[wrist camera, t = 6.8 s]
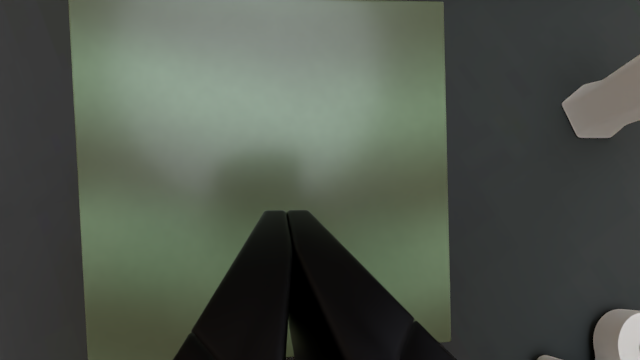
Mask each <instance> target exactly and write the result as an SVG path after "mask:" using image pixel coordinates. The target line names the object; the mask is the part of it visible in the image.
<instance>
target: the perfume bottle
mask: <svg viewBox="0 0 640 360" xmlns="http://www.w3.org/2000/svg"><path fill="white" fill-rule="evenodd" d="M562 107H563V109H564V111H565V113H566V115H567V117H568V119H569V121H570V123H571V125H572V127H573V129H574V131H575V133H576V135H577V136H578V137H579V138H611V137H612V136H613V135H614V134H616V133H617V132H618V131H619V130H620V129H622V128H623V127H624V126H625V125H627V124H630V123H633V122H636V121H639V120H640V55H639V56H637V57H636V58H634V59H633V60H631V61H630V62H628V63H627V64H625V65H624V66H622V67H621V68H619V69H618V70H616V71H615V72H613V73H612V74H611V75H609V76H608V77H606V78H605V79H603V80H600V81H596V82H592V83H588V84H584V85H582V86H581V87H580V88H579V89H578V90H576V91H575V92H574V93H573V94H572V95H571V96H569V97H568V98H567V99H566V100H565V101H563V103H562Z"/></svg>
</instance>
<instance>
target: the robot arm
mask: <svg viewBox="0 0 640 360" xmlns="http://www.w3.org/2000/svg"><path fill="white" fill-rule="evenodd" d="M288 321H289V329H290V335H291V341H292V346H293V352H294V357H295V360H457V359H456V358H455V357H454V356H452V355H451V354H450V353H449V352H448V351H447V350H446V349H445V348H444V347H443V346H442V345H441V344H440V343H439V342H438V341H437V340H436V339H435V338H434V337H433V336H432V335H431V334H430V333H429V332H428V331H427V330H426V329H425V328H424V327H423V326H422V325H421V324H420V323H419V322H418V321H414V317H413V316H412V315H411V314H410V313H409V312H408V311H407V310H406V309H405V308H404V307H403V306H402V305H401V304H400V303H399V302H398V301H397V300H396V299H395V298H394V297H393V296H392V295H391V294H390V293H389V292H388V291H387V290H386V289H385V288H384V287H383V286H382V285H381V284H380V283H379V282H378V281H377V280H376V278H375V277H374V276H373V275H372V274H371V273H370V272H369V271H368V270H367V269H366V268H365V267H364V266H363V265H362V264H361V263H360V262H359V261H358V260H357V259H356V258H355V257H354V256H353V255H352V254H351V253H350V252H349V251H348V250H347V249H346V248H345V247H344V246H343V245H342V244H341V243H340V242H339V241H338V240H337V239H336V238H335V237H334V236H333V235H332V234H331V233H330V232H329V231H328V230H327V229H326V228H325V227H324V226H323V225H322V224H321V223H320V222H319V221H318V219H317V218H316V217H315V216H314V215H313V214H312V213H311V212H310V211H308V210H289V211H288V212H287V213H286V211H284V210H266V211H264V213H263V214H262V216H261V217H260V219H259V221H258V222H257V224H256V226H255V227H254V229H253V230H252V232H251V234H250V235H249V237H248V239H247V240H246V242H245V244H244V245H243V247H242V248H241V250H240V252H239V253H238V255H237V257H236V258H235V260H234V261H233V263H232V265H231V266H230V268H229V270H228V271H227V273H226V275H225V276H224V278H223V279H222V281H221V283H220V284H219V286H218V288H217V289H216V291H215V293H214V294H213V296H212V297H211V299H210V301H209V302H208V304H207V306H206V307H205V309H204V310H203V312H202V314H201V315H200V317H199V319H198V320H197V322H196V324H195V325H194V327H193V328H192V331H191V333H190V334H189V335H188V336H187V338H186V339H185V341H184V343H183V344H182V346H181V348H180V349H179V351H178V353H177V354H176V356H175V357H174V359H173V360H286V347H287V333H288Z"/></svg>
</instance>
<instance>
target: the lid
mask: <svg viewBox="0 0 640 360" xmlns="http://www.w3.org/2000/svg"><path fill="white" fill-rule="evenodd" d="M68 3H69V21H70V40H71V58H72V76H73V95H74V113H75V132H76V150H77V169H78V187H79V205H80V224H81V242H82V261H83V279H84V298H85V316H86V334H87V353H88V360H173V359H174V357H175V356H176V354H177V353H178V351H179V349H180V348H181V346H182V344H183V343H184V341H185V339H186V338H187V336H188V335H189V334H190V333H191V331H192V328H193V327H194V325H195V324H196V322H197V320H198V319H199V317H200V315H201V314H202V312H203V310H204V309H205V307H206V306H207V304H208V302H209V301H210V299H211V297H212V296H213V294H214V293H215V291H216V289H217V288H218V286H219V284H220V283H221V281H222V279H223V278H224V276H225V275H226V273H227V271H228V270H229V268H230V266H231V265H232V263H233V261H234V260H235V258H236V257H237V255H238V253H239V252H240V250H241V248H242V247H243V245H244V244H245V242H246V240H247V239H248V237H249V235H250V234H251V232H252V230H253V229H254V227H255V226H256V224H257V222H258V221H259V219H260V217H261V216H262V214H263V213H264V211H266V210H284V211H286V213H287V212H288V211H289V210H308V211H310V212H311V213H312V214H313V215H314V216H315V217H316V218H317V219H318V221H319V222H320V223H321V224H322V225H323V226H324V227H325V228H326V229H327V230H328V231H329V232H330V233H331V234H332V235H333V236H334V237H335V238H336V239H337V240H338V241H339V242H340V243H341V244H342V245H343V246H344V247H345V248H346V249H347V250H348V251H349V252H350V253H351V254H352V255H353V256H354V257H355V258H356V259H357V260H358V261H359V262H360V263H361V264H362V265H363V266H364V267H365V268H366V269H367V270H368V271H369V272H370V273H371V274H372V275H373V276H374V277H375V278H376V280H377V281H378V282H379V283H380V284H381V285H382V286H383V287H384V288H385V289H386V290H387V291H388V292H389V293H390V294H391V295H392V296H393V297H394V298H395V299H396V300H397V301H398V302H399V303H400V304H401V305H402V306H403V307H404V308H405V309H406V310H407V311H408V312H409V313H410V314H411V315H412V316H413V317H414V321H418V322H419V323H420V324H421V325H422V326H423V327H424V328H425V329H426V330H427V331H428V332H429V333H430V334H431V335H432V336H433V337H434V338H435V339H436V340H437V341H438V342H439V343H441V342H450V341H451V316H450V272H449V227H448V183H447V138H446V93H445V49H444V4H443V2H431V1H381V0H68ZM286 357H294V352H293V346H292V341H291V335H290V329H289V321H288V333H287V347H286Z"/></svg>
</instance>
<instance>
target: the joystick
mask: <svg viewBox="0 0 640 360" xmlns="http://www.w3.org/2000/svg"><path fill="white" fill-rule="evenodd" d="M593 346H594V351H595V360H640V311H637V310H627V309H615V310H612V311H609V312H607V313H606V314H604V315H603V316H602V317H601V318H600V320H599V321H598V323H597V325H596V327H595V330H594V335H593ZM537 360H562V359H559V358H555V357H552V356H548V355H542V356H540V357H539V358H538V359H537Z"/></svg>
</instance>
